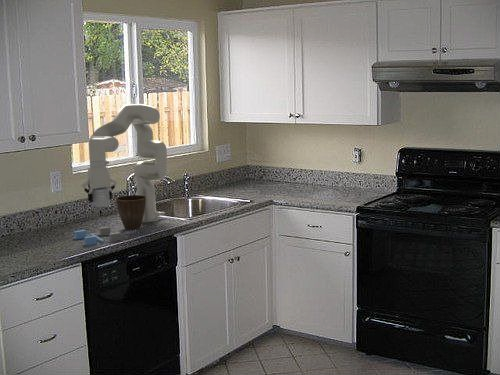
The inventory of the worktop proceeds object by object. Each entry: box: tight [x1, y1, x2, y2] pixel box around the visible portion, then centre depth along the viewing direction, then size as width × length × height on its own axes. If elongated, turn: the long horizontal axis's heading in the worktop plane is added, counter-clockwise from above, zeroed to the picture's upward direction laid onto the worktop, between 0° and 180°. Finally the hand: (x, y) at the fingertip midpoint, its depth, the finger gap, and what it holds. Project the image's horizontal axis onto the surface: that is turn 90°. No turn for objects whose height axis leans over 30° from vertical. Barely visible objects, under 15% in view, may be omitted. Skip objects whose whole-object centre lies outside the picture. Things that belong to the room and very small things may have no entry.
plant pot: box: [115, 194, 146, 231], centre depth 355 cm, size 15×15×16 cm
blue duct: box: [74, 229, 105, 246], centre depth 332 cm, size 8×18×4 cm, turn 30°
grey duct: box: [98, 226, 130, 242], centre depth 338 cm, size 8×18×4 cm, turn 30°
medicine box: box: [90, 188, 111, 208], centre depth 333 cm, size 8×4×9 cm, turn 75°
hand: (100, 200), depth 333 cm, fingers closed on medicine box, 8 cm apart
